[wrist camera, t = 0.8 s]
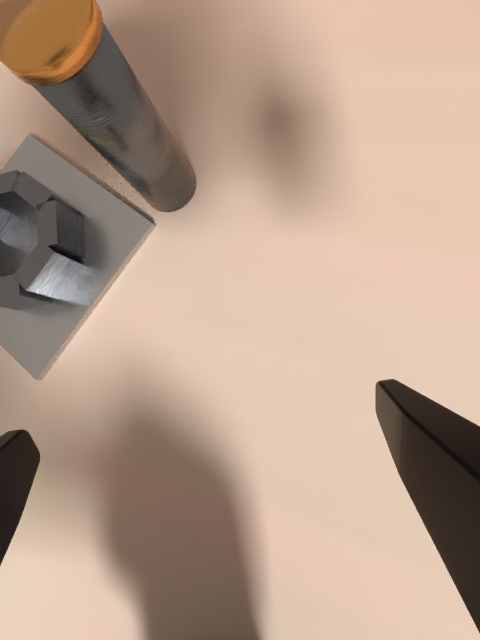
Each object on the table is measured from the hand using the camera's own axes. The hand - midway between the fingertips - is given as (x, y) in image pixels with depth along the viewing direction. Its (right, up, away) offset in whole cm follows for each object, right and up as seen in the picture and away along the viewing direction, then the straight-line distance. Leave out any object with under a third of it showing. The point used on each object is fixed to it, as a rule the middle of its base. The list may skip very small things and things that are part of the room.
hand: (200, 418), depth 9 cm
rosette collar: (-15, +8, +19) cm, 25 cm away
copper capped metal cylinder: (-4, +12, +17) cm, 21 cm away
